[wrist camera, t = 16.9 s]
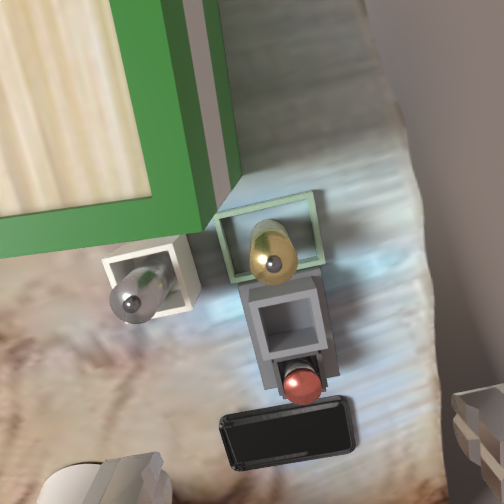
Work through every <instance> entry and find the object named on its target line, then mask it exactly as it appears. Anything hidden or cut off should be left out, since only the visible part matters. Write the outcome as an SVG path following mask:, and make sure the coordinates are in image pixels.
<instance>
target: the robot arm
mask: <svg viewBox="0 0 504 504" xmlns="http://www.w3.org/2000/svg"><path fill="white" fill-rule="evenodd" d="M451 405H452V407H453V409H454V410H455V411H456V412H457V414H456V416H455V417H454V419H453V426H454V432H455V434H456V437H457V440H458V442H459V444H460V446H461V448H462V450H463V451H464V453H465V454H466V455H467V457H468V458H469V460H471V461H473V462H474V463H476V464H478V465H480V466H481V472H482V477H483V479H484V480H485V481H486V483H487V484H488V485H489V487H490V488H491V489H492V490H493V492H494V493H495V495H496V496H497V497H498V499H499V500H500V501H501V503H504V383H503V384H499V385H494V386H491V387H485V388H480V389H475V390H470V391H465V392H460V393H455V394H453V395H452V398H451ZM162 465H163V459H162V457H161V455H160V453H159V452H151V453H145V454H139V455H133V456H127V457H122V458H117V459H111V460H106V461H105V462H104V463H102V464H101V465H98V464H79V465H73V466H69V467H66V468H63V469H61V470H59V471H57V472H56V473H54V474H53V475H52V476H50V477H49V478H48V479H47V481H46V482H45V483H44V485H43V487H42V489H41V492H40V495H39V497H38V500H37V502H36V504H172V485H171V480H170V477H169V475H168V473H166V472H165V471H163V470H162Z"/></svg>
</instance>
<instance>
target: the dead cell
mask: <svg viewBox="0 0 504 504" xmlns="http://www.w3.org/2000/svg"><path fill="white" fill-rule="evenodd" d="M176 280H177V277H176V274H175V270H174V267H173V264H172V261H171V258H170V255H169V252H167V251H162V252H158V253H153V254H150V255H149V256H148V257H147V258H145V259H144V260H143V261H142V262H141V263H140V264H139V265H138V266H137V267H136V268H135V269H134V270H132V271H131V272H130V273H129V274H128V275H127V276H126V277H125V278H124V279H123V280H122V281H120V282H119V283H118V284H117V285H116V286H115V287H114V288H113V290H112V291H111V294H110V306H111V309H112V311H113V312H114V314H115V315H116V316H117V317H118V318H120V319H121V320H123V321H125V322H127V323H131V324H141V323H145V322H147V321H149V320H150V319H151V318H152V317H153V316H154V315H155V313H156V311H157V310H158V308H159V307H160V305H161V304H162V302H163V301H164V299H165V297H166V296H167V294H168V293H169V291H170V290H171V288H172V286H173V285H174V283H175V282H176Z"/></svg>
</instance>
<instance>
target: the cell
mask: <svg viewBox="0 0 504 504" xmlns="http://www.w3.org/2000/svg"><path fill="white" fill-rule="evenodd" d="M249 265H250V270H251V272H252V274H253V276H254V277H255V278H256V279H257V280H258V281H260V282H261V283H264V284H266V285H280V284H283V283H285V282H287V281H288V280H290V279H291V278H292V277H293V275H294V274H295V272H296V270H297V266H298V258H297V254H296V252H295V249H294V247H293V245H292V243H291V240H290V238H289V236H288V233H287V231H286V229H285V227H284V226H283V225H282V224H281V223H280V222H278V221H276V220H271V219H268V220H263V221H261V222H259V223H258V224H256V225H255V227H254V228H253V230H252V232H251V241H250V260H249Z"/></svg>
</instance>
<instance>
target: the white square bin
mask: <svg viewBox="0 0 504 504" xmlns="http://www.w3.org/2000/svg"><path fill="white" fill-rule="evenodd" d="M162 251H167V252H169V255H170V258H171V261H172V264H173V267H174V270H175V274H176V277H177V280H176V282H175V283H174V285H173V286H172V288H171V290H170V291H169V293H168V294H167V296H166V297H165V299H164V301H163V302H162V304H161V305H160V307H159V308H158V310H157V311H156V313H155V315H154V316H153V317H152V318H157V317H162V316H167V315H171V314H176V313H181V312H186V311H190V310H193V308H194V306H195V303H196V301H197V299H198V296H199V294H200V291H201V289H202V287H201V284H200V280H199V277H198V274H197V270H196V267H195V263H194V260H193V257H192V253H191V250H190V247H189V243H188V240H187V236H186V234H182V235H175V236H167V237H160V238H152V239H145V240H140V241H136V242H131V243H127V244H124V245H122V246H121V247H119V248H118V249H116V250H115V251H113V252H112V253H110V254H109V255H107V256H106V257H104V258H103V259H101V260H102V262H103V265H104V268H105V270H106V273H107V276H108V278H109V281H110V283H111V286H112V289H113V288H114V287H115V286H116V285H117V284H118V283H119V282H120V281H122V280H123V279H124V278H125V277H126V276H127V275H128V274H129V273H130V272H131V271H132V270H134V269H135V268H136V267H137V266H138V265H139V264H140V263H141V262H142V261H143V260H144V259H145V258H147V257H148V256H149V255H150V254H153V253H158V252H162ZM152 318H151V319H152ZM125 323H126V324H129V323H127V322H125Z"/></svg>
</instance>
